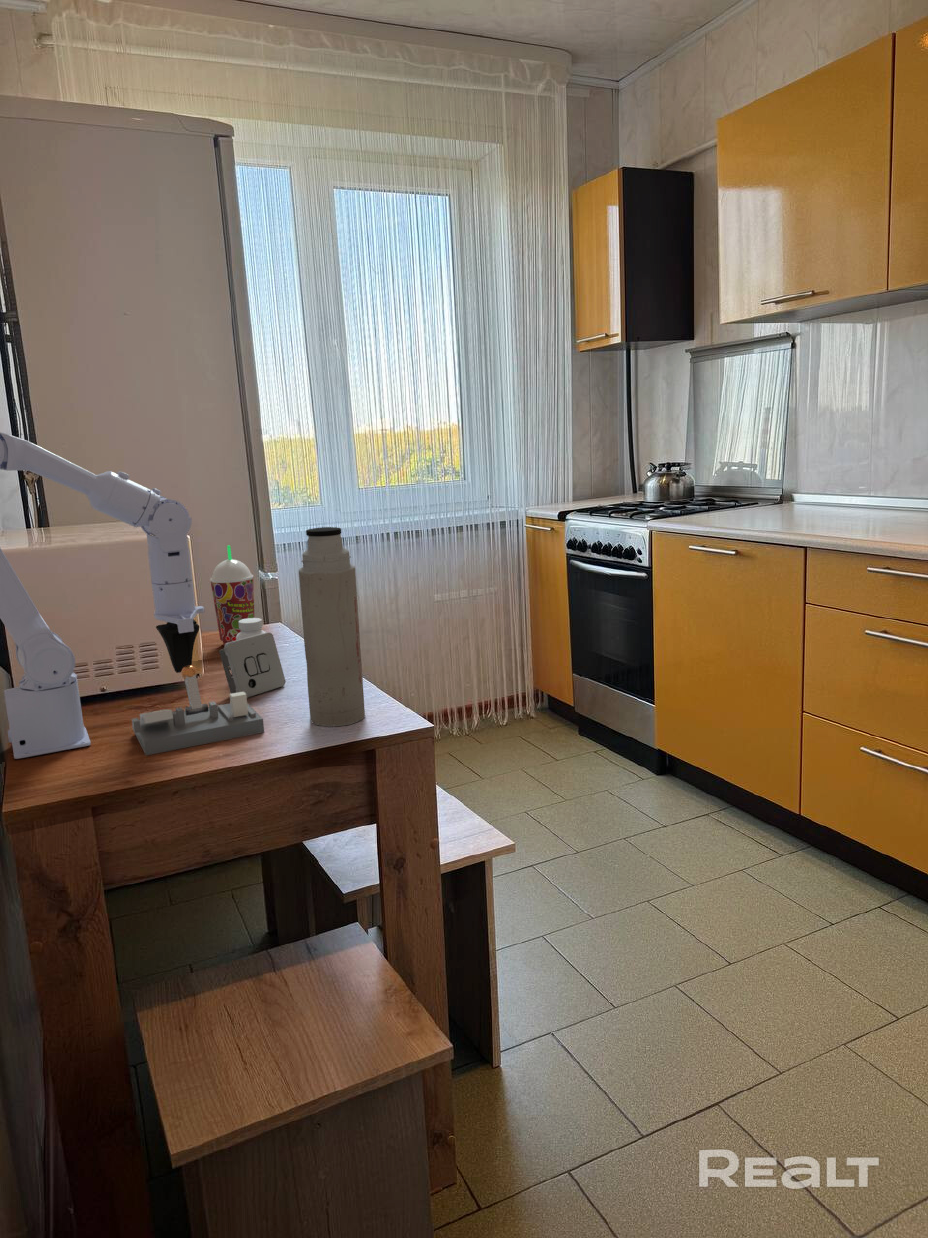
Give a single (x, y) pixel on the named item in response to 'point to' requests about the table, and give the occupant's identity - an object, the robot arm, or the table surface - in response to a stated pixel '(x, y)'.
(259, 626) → the supplement bottle
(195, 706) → the lever
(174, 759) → the table surface
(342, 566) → the thermos bottle
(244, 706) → the off-white rectangular block
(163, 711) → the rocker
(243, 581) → the smoothie
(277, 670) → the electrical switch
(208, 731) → the panel
